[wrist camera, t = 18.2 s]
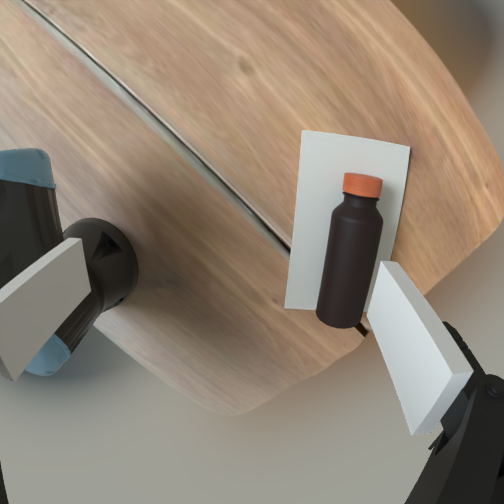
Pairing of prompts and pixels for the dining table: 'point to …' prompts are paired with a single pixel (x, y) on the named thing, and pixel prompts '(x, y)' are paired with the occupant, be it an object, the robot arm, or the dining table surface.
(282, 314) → the dining table surface
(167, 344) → the dining table surface
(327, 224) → the mat
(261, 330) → the dining table surface
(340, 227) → the vinegar
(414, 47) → the dining table surface
